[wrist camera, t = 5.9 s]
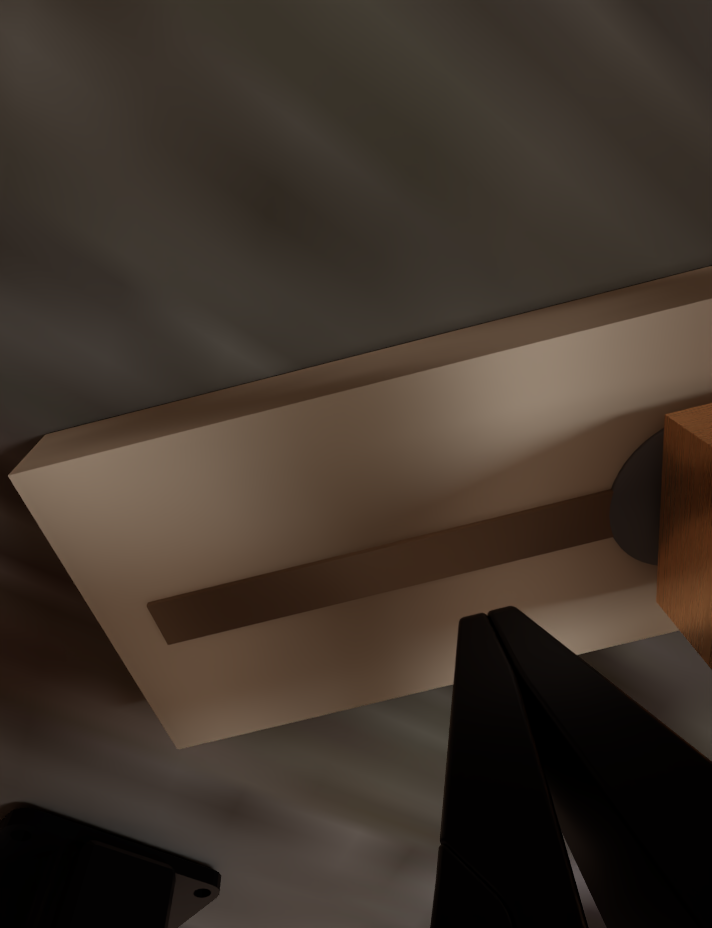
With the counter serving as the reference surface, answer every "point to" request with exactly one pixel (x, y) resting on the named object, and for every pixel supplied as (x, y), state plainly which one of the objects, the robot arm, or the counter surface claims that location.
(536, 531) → the bolt plate
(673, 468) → the orange slider block
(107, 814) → the counter surface
